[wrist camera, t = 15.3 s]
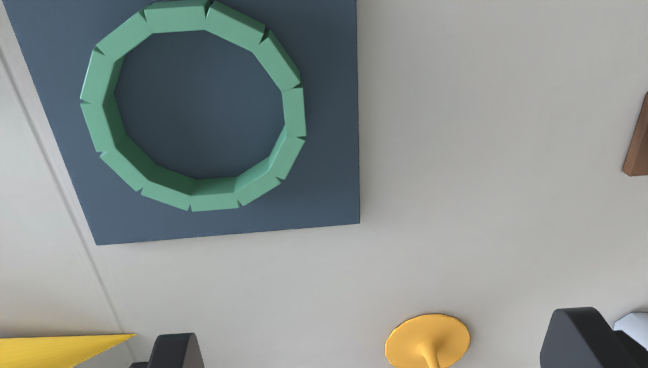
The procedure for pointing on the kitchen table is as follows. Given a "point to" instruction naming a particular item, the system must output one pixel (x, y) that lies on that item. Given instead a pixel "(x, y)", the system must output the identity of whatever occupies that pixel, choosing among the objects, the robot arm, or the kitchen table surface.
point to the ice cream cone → (54, 350)
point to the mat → (202, 113)
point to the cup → (427, 342)
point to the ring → (135, 162)
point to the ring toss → (639, 146)
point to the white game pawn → (635, 327)
